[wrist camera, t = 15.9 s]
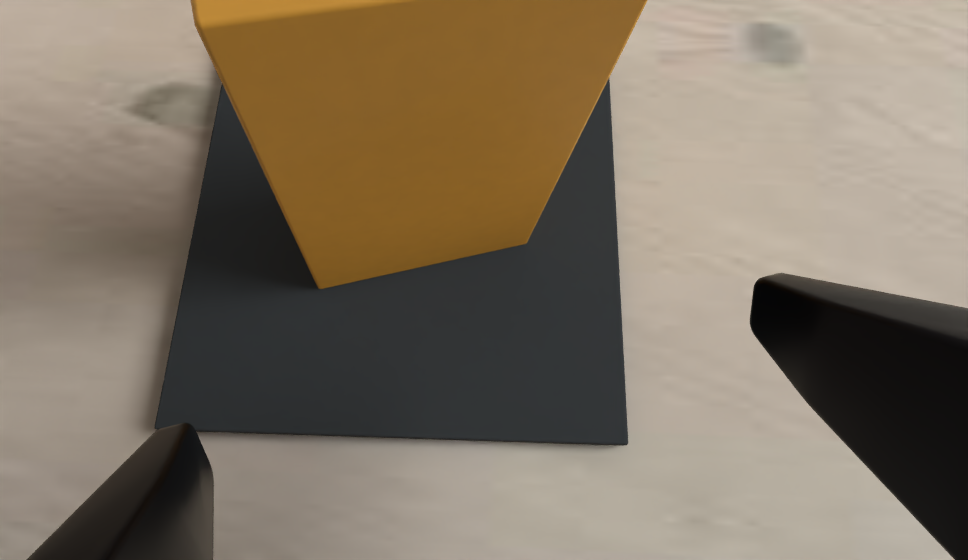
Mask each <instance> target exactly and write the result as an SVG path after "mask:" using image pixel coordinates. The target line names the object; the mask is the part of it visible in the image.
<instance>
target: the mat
mask: <svg viewBox="0 0 968 560" xmlns="http://www.w3.org/2000/svg"><path fill="white" fill-rule="evenodd" d="M185 422H187V423H190V424H191V425H192V426H193V427H194V428H195V430H196V431H199V432H230V433H260V434H291V435H321V436H352V437H382V438H413V439H443V440H474V441H504V442H534V443H565V444H595V445H627V444H628V432H627V413H626V393H625V374H624V355H623V335H622V316H621V297H620V277H619V258H618V239H617V219H616V200H615V181H614V161H613V142H612V123H611V103H610V84H609V79H608V81H607V83H606V85H605V87H604V89H603V91H602V93H601V95H600V97H599V99H598V101H597V103H596V105H595V107H594V109H593V111H592V113H591V115H590V117H589V119H588V121H587V123H586V125H585V127H584V129H583V131H582V133H581V135H580V137H579V139H578V141H577V143H576V145H575V147H574V149H573V151H572V153H571V155H570V157H569V159H568V161H567V163H566V165H565V167H564V169H563V171H562V173H561V175H560V177H559V179H558V181H557V183H556V185H555V187H554V189H553V191H552V193H551V195H550V197H549V199H548V201H547V203H546V205H545V207H544V209H543V211H542V213H541V215H540V217H539V219H538V221H537V223H536V225H535V227H534V229H533V231H532V233H531V235H530V237H529V239H528V241H527V243H526V244H523V245H518V246H514V247H509V248H505V249H500V250H496V251H491V252H486V253H482V254H477V255H473V256H468V257H464V258H459V259H455V260H450V261H446V262H441V263H437V264H432V265H428V266H423V267H419V268H414V269H410V270H405V271H401V272H396V273H392V274H387V275H383V276H378V277H373V278H369V279H364V280H360V281H355V282H351V283H346V284H342V285H337V286H333V287H328V288H324V289H319V288H318V287H317V285H316V283H315V280H314V278H313V276H312V274H311V272H310V270H309V268H308V266H307V263H306V261H305V259H304V257H303V255H302V253H301V251H300V248H299V246H298V244H297V242H296V240H295V238H294V236H293V233H292V231H291V229H290V227H289V225H288V223H287V221H286V219H285V216H284V214H283V212H282V210H281V208H280V206H279V204H278V201H277V199H276V197H275V195H274V193H273V191H272V189H271V187H270V184H269V182H268V180H267V178H266V176H265V174H264V172H263V169H262V167H261V165H260V163H259V161H258V159H257V157H256V155H255V152H254V150H253V148H252V146H251V144H250V142H249V140H248V137H247V135H246V133H245V131H244V129H243V127H242V125H241V123H240V120H239V118H238V116H237V114H236V112H235V110H234V108H233V105H232V103H231V101H230V99H229V97H228V95H227V93H226V90H225V88H224V86H223V84H222V87H221V92H220V97H219V102H218V107H217V112H216V117H215V122H214V127H213V132H212V138H211V143H210V148H209V153H208V158H207V163H206V168H205V173H204V178H203V183H202V188H201V194H200V199H199V204H198V209H197V214H196V219H195V224H194V229H193V234H192V239H191V245H190V250H189V255H188V260H187V265H186V270H185V275H184V280H183V285H182V290H181V296H180V301H179V306H178V311H177V316H176V321H175V326H174V331H173V336H172V341H171V346H170V352H169V357H168V362H167V367H166V372H165V377H164V382H163V387H162V392H161V397H160V403H159V408H158V413H157V418H156V423H155V429H157V430H159V429H161V428H165V427H169V426H173V425H177V424H181V423H185Z"/></svg>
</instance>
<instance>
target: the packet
mask: <svg viewBox="0 0 968 560" xmlns="http://www.w3.org/2000/svg"><path fill="white" fill-rule="evenodd" d="M646 2H647V0H191V5H192V11H193V17H194V23H195V26H196V29H197V31H198V33H199V35H200V37H201V39H202V41H203V44H204V46H205V48H206V50H207V52H208V54H209V56H210V58H211V61H212V63H213V65H214V67H215V69H216V71H217V73H218V76H219V78H220V80H221V82H222V84H223V86H224V88H225V90H226V93H227V95H228V97H229V99H230V101H231V103H232V105H233V108H234V110H235V112H236V114H237V116H238V118H239V120H240V123H241V125H242V127H243V129H244V131H245V133H246V135H247V137H248V140H249V142H250V144H251V146H252V148H253V150H254V152H255V155H256V157H257V159H258V161H259V163H260V165H261V167H262V169H263V172H264V174H265V176H266V178H267V180H268V182H269V184H270V187H271V189H272V191H273V193H274V195H275V197H276V199H277V201H278V204H279V206H280V208H281V210H282V212H283V214H284V216H285V219H286V221H287V223H288V225H289V227H290V229H291V231H292V233H293V236H294V238H295V240H296V242H297V244H298V246H299V248H300V251H301V253H302V255H303V257H304V259H305V261H306V263H307V266H308V268H309V270H310V272H311V274H312V276H313V278H314V280H315V283H316V285H317V287H318V288H319V289H324V288H328V287H333V286H337V285H342V284H346V283H351V282H355V281H360V280H364V279H369V278H373V277H378V276H383V275H387V274H392V273H396V272H401V271H405V270H410V269H414V268H419V267H423V266H428V265H432V264H437V263H441V262H446V261H450V260H455V259H459V258H464V257H468V256H473V255H477V254H482V253H486V252H491V251H496V250H500V249H505V248H509V247H514V246H518V245H523V244H526V243H527V241H528V239H529V237H530V235H531V233H532V231H533V229H534V227H535V225H536V223H537V221H538V219H539V217H540V215H541V213H542V211H543V209H544V207H545V205H546V203H547V201H548V199H549V197H550V195H551V193H552V191H553V189H554V187H555V185H556V183H557V181H558V179H559V177H560V175H561V173H562V171H563V169H564V167H565V165H566V163H567V161H568V159H569V157H570V155H571V153H572V151H573V149H574V147H575V145H576V143H577V141H578V139H579V137H580V135H581V133H582V131H583V129H584V127H585V125H586V123H587V121H588V119H589V117H590V115H591V113H592V111H593V109H594V107H595V105H596V103H597V101H598V99H599V97H600V95H601V93H602V91H603V89H604V87H605V85H606V83H607V81H608V79H609V77H610V75H611V73H612V71H613V69H614V67H615V65H616V63H617V61H618V59H619V57H620V55H621V53H622V51H623V49H624V47H625V45H626V43H627V41H628V39H629V36H630V34H631V32H632V30H633V28H634V26H635V24H636V22H637V20H638V18H639V16H640V14H641V12H642V10H643V8H644V6H645V4H646Z"/></svg>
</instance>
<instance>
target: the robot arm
mask: <svg viewBox="0 0 968 560" xmlns="http://www.w3.org/2000/svg"><path fill="white" fill-rule="evenodd" d="M750 326H751V329H752V331H753V334H754V335H755V337H756V338H757V339H758V340H759V342H760V343H761V344H762V346H763V347H764V348H765V350H766V351H767V352H768V353H769V355H770V356H771V357H772V359H773V360H774V361H775V362H776V364H777V365H778V366H779V368H780V369H781V370H782V371H783V373H784V374H785V375H786V377H787V378H788V379H789V380H790V382H791V383H792V384H793V386H794V387H795V388H796V390H797V391H798V392H799V393H800V395H801V396H802V397H803V398H804V399H805V401H806V402H807V403H808V404H809V405H810V406H811V408H812V409H813V410H814V411H815V412H816V413H817V414H818V415H819V416H820V417H821V418H822V419H823V421H824V422H825V423H826V424H827V425H828V426H829V427H830V428H831V429H832V430H833V431H834V432H835V433H836V434H837V435H838V436H839V437H840V439H841V440H842V441H843V442H844V443H845V444H846V445H847V446H848V447H849V448H850V449H851V450H852V451H853V452H854V453H855V454H856V455H857V457H858V458H859V459H860V460H861V461H862V462H863V463H864V464H865V465H866V466H867V467H868V468H869V469H870V470H871V471H872V472H873V474H874V475H875V476H876V477H877V478H878V479H879V480H880V481H881V482H882V483H883V484H884V485H885V486H886V487H887V488H888V489H889V490H890V492H891V493H892V494H893V495H894V496H895V497H896V498H897V499H898V500H899V501H900V502H901V503H902V504H903V505H904V506H905V507H906V508H907V510H908V511H909V512H910V513H911V514H912V515H913V516H914V517H915V518H916V519H917V520H918V521H919V522H920V523H921V524H922V525H923V526H924V528H925V529H926V530H927V531H928V532H929V533H930V534H931V535H932V536H933V537H934V538H935V539H936V540H937V541H938V542H939V543H940V544H941V546H942V547H943V548H944V549H945V550H946V551H947V552H948V553H949V554H950V555H951V556H952V557H953V558H954V559H955V560H968V308H963V307H958V306H953V305H947V304H942V303H937V302H932V301H926V300H921V299H916V298H911V297H905V296H900V295H895V294H889V293H884V292H879V291H874V290H868V289H863V288H858V287H853V286H847V285H842V284H837V283H832V282H826V281H821V280H816V279H811V278H805V277H800V276H795V275H790V274H784V273H778V274H774V275H770V276H766V277H762V278H760V279H758V280H757V281H756V283H755V285H754V289H753V298H752V306H751V314H750ZM213 516H214V479H213V472H212V468H211V465H210V462H209V460H208V458H207V455H206V453H205V451H204V449H203V446H202V444H201V442H200V439H199V437H198V435H197V432H196V430H195V428H194V427H193V426H192V425H191V424H190V423H187V422H185V423H181V424H177V425H173V426H169V427H165V428H161V429H159V430H157V431H156V432H155V433H153V434H152V435H151V436H150V437H149V438H148V439H147V440H146V441H145V442H144V443H143V444H142V445H141V446H140V447H139V448H138V449H137V450H136V451H135V452H134V453H133V454H132V455H131V456H130V457H129V458H128V459H127V460H126V461H125V462H124V463H123V464H122V465H121V466H120V467H119V468H118V469H117V470H116V471H115V472H114V473H113V474H112V475H111V476H110V477H109V478H108V479H107V480H106V481H105V482H104V483H103V484H102V485H101V486H100V487H99V488H98V489H97V490H96V491H95V492H94V493H93V494H92V495H91V496H90V497H89V498H88V499H87V500H86V501H85V502H84V503H83V504H82V505H81V506H80V507H79V508H78V509H77V510H76V511H75V512H74V513H73V514H72V515H71V516H70V517H69V518H68V519H67V520H66V521H65V522H64V523H63V524H62V525H61V526H60V527H59V528H58V529H57V530H56V531H55V532H54V533H53V534H52V535H51V536H50V537H49V538H48V539H47V540H46V541H45V542H44V543H43V544H42V545H41V546H40V547H39V548H38V549H37V550H36V551H35V552H34V553H33V554H32V555H31V556H30V557H29V558H28V559H27V560H213Z"/></svg>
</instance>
